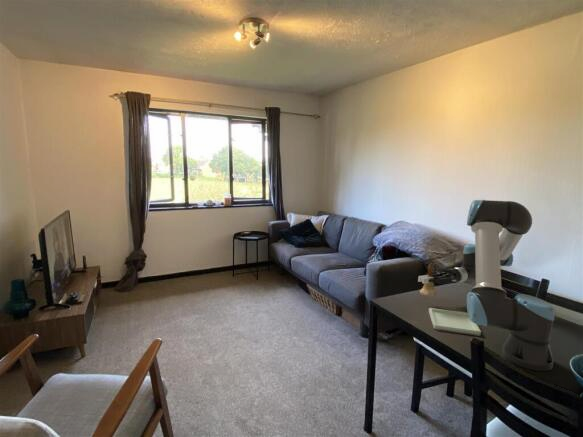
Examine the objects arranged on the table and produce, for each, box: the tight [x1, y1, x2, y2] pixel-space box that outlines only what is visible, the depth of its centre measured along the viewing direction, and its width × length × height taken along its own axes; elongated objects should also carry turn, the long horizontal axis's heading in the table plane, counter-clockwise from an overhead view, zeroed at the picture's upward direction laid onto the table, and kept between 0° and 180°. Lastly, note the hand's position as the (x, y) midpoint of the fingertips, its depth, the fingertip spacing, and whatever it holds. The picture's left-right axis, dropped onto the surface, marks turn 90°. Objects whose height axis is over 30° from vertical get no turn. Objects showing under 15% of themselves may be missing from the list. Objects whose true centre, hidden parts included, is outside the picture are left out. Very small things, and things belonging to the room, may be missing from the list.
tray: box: [428, 307, 482, 337], centre depth 145 cm, size 18×18×2 cm
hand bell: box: [419, 262, 438, 297], centre depth 161 cm, size 8×8×16 cm
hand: (420, 279), depth 159 cm, fingers closed on hand bell, 2 cm apart
